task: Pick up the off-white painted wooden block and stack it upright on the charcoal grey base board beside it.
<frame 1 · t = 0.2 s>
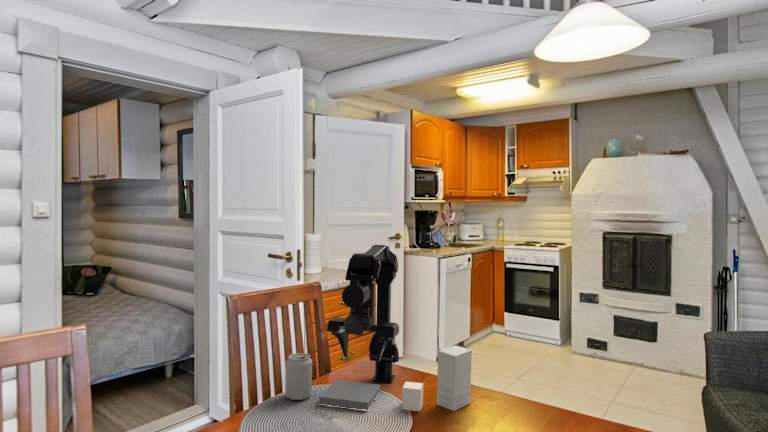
hand: (362, 359, 123), 14 cm above the table, tool pointing down, fingers open, 9 cm apart
base board: (350, 399, 133), on the table
block: (412, 407, 129), on the table
skincare box: (453, 405, 131), on the table
can: (298, 397, 134), on the table
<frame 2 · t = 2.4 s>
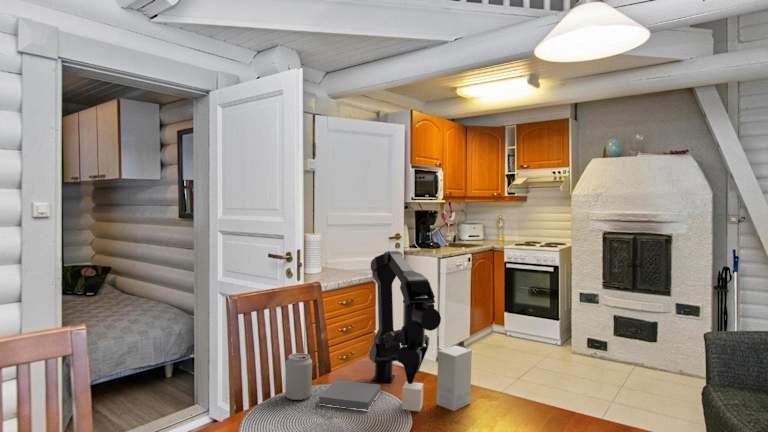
hand: (413, 378, 129), 8 cm above the table, tool pointing down, fingers open, 9 cm apart
nothing on the table moved.
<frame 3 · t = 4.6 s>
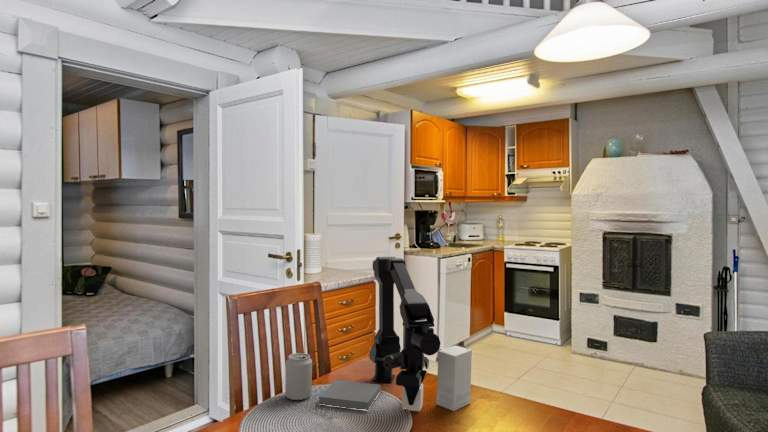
hand: (412, 401, 129), 2 cm above the table, tool pointing down, fingers closed on block, 5 cm apart
block: (412, 406, 129), on the table, touching gripper
everything else where it was.
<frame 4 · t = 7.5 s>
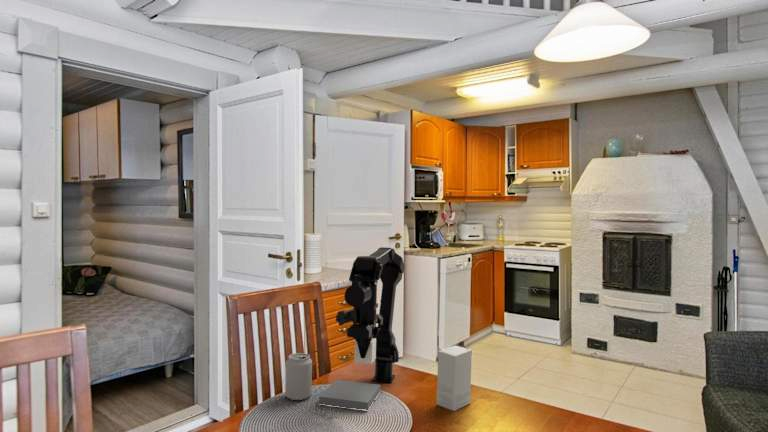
hand: (365, 355, 132), 13 cm above the table, tool pointing down, fingers closed on block, 5 cm apart
block: (365, 360, 132), point 11 cm above the table, touching gripper
everything else where it was.
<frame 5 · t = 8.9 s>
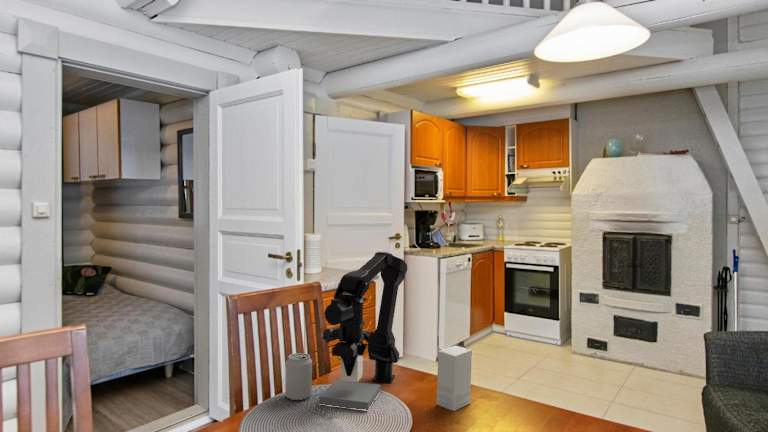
hand: (351, 372, 133), 8 cm above the table, tool pointing down, fingers closed on block, 5 cm apart
block: (351, 378, 133), point 6 cm above the table, touching gripper
everything else where it was.
when the fingers open (5 cm above the table, at t = 10.4 s): block drops 1 cm, resting on base board.
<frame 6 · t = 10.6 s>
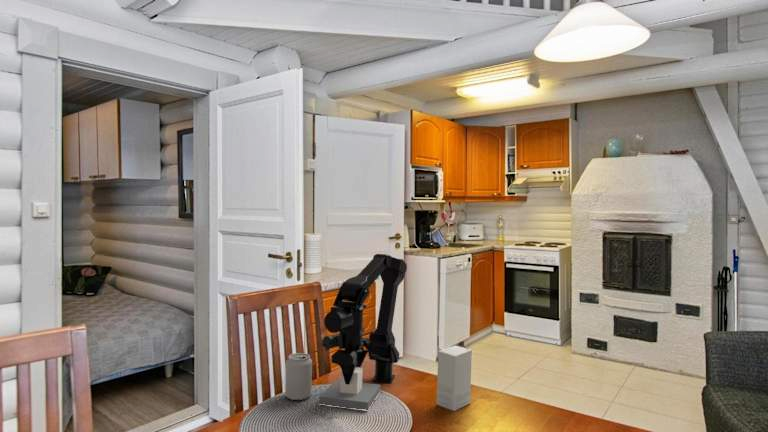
hand: (351, 379, 133), 5 cm above the table, tool pointing down, fingers open, 7 cm apart
block: (351, 390, 133), point 2 cm above the table, touching base board
everything else where it was.
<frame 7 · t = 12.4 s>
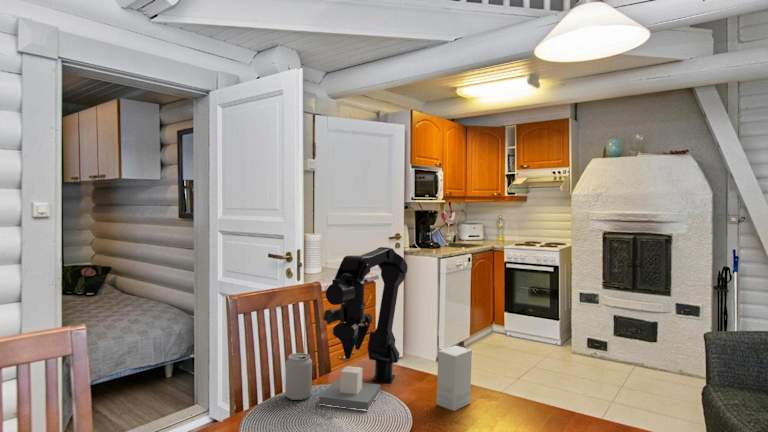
hand: (352, 353, 134), 13 cm above the table, tool pointing down, fingers open, 9 cm apart
nothing on the table moved.
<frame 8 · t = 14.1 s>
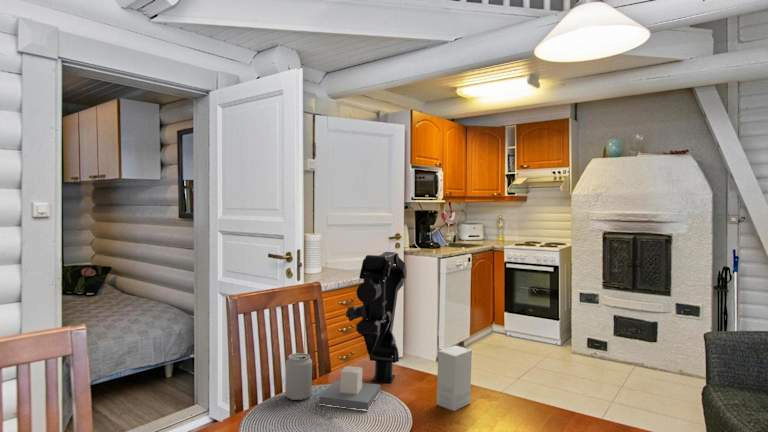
hand: (374, 349, 138), 13 cm above the table, tool pointing down, fingers open, 9 cm apart
nothing on the table moved.
at the end: block inside the target area on the base board (0.1 cm from its centre), point 2.5 cm above the base board's base; block tilted 0°; the gripper is holding nothing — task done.
